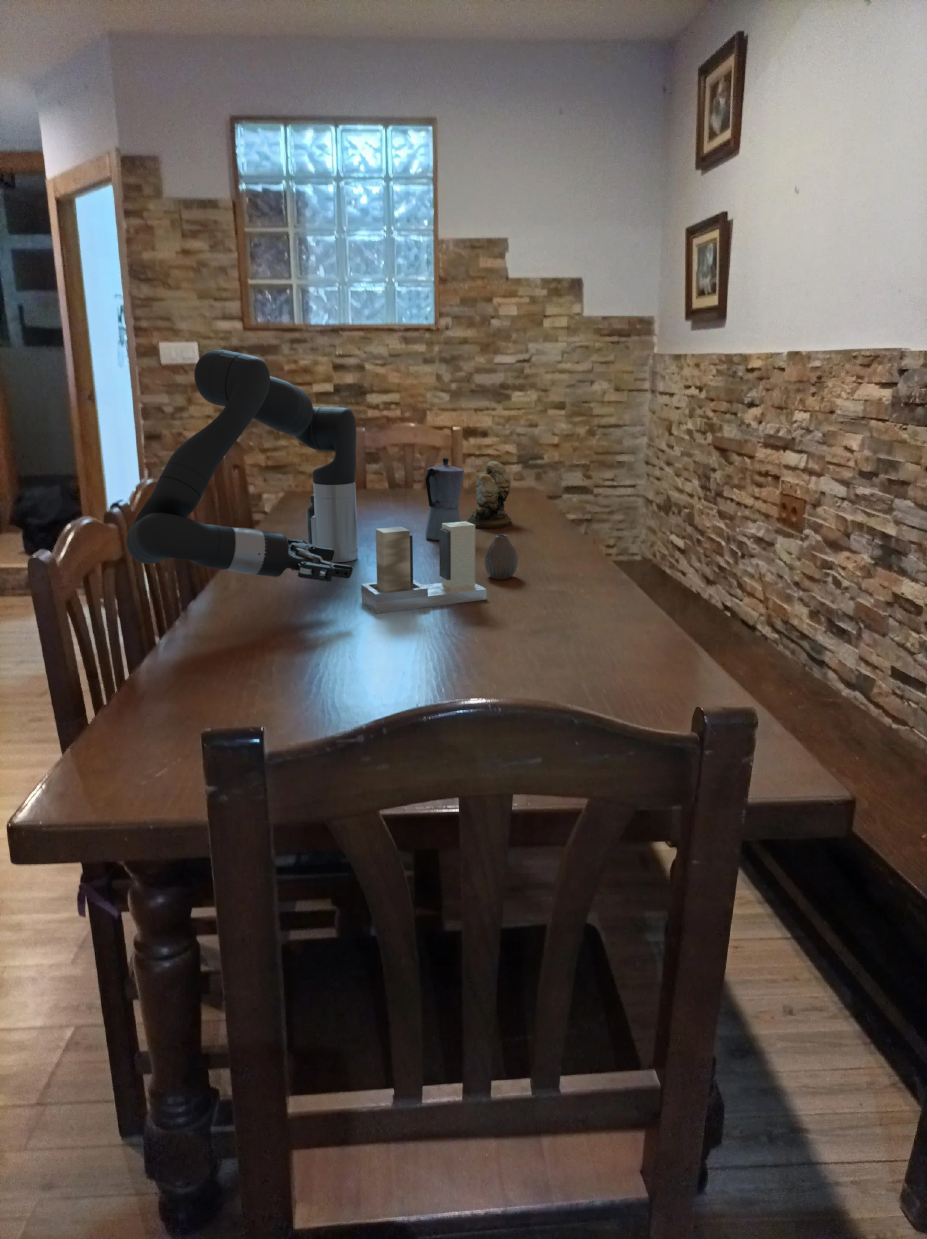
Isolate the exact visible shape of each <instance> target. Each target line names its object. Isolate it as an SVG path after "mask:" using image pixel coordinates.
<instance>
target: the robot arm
mask: <svg viewBox="0 0 927 1239" xmlns="http://www.w3.org/2000/svg"><path fill="white" fill-rule="evenodd" d="M193 377H194V383H195V386H196V389H197V391H198V393H199V394H200V396H201V397H202V398H203V399H204V400H205V401H207V402H209V403H210V404H212V405H216V406H220V407H224V408H223V409H222V410H221V412H219V414H218V416H217V417H216V418H214V419H213V420H212V421H211V422H210V423H209V424H207V425H206V426H205V427H203V428H202V429H201V430H199V431H198V432H196V433H195V434H193V435H192V436H191V437H189V438H188V439H187V440H185V441H184V442H182V444H180V445H179V446H178V447H177V448H176V449H175V451H174V452H173V453H172V454H171V456H170V457H169V459H168V461H167V463H166V465H165V467H164V468H163V471H162V472H161V474H160V476H159V478H158V479H157V481H156V484H155V486H154V488H153V491H152V493H150V494H151V495H150V496H149V498H148V499H147V500H146V502H145V503H144V505H143V506H142V508H141V509H140V511H139V512H138V513H137V516H136V517H135V518H134V520H133V521H132V524H131V525H130V527H129V529H128V531H127V534H126V537H125V538H126V539H125V544H126V549H127V551H128V553H129V554H130V556H131V557H132V559H134V560H135V561H137V562H139V563H142V564H145V565H152V564H157V563H160V562H162V561H164V560H165V559H176V560H177V559H178V560H185V561H190V562H192V563H193V564H194V565H196V566H198V567H203V568H208V569H209V568H210V569H218V570H226V571H231V572H234V573H239V574H247V575H255V576H263V577H273V578H278V577H280V576H282V575H283V573H284V572H285V570H286V569H289V570H291V571H292V572H294V573H297V577H298V578H300V579H309V580H316V581H322V582H328V583H329V582H332V579H333V578H342V579H350V578H351V576H352V573H353V569H354V568H353V567H352V566H351V565H350V564H343V563H345V562H351V561H356V560H357V559H358V556H359V554H358V552H359V548H358V523H357V522H358V521H357V498H356V496H357V494H356V493H357V492H356V490H357V489H356V468H357V423H356V422H357V421H356V417H355V414H354V412H353V411H352V409H350V408H348V407H337V406H327V407H326V406H324V407H323V406H313V402H312V401H311V398H310V397H309V395H308V394H307V393H306V392H305V391H304V390H303V389H301V388H300V387H298V386H296V385H294V384H292V383H290V382H288V381H286V380H283V379H280V378H278V377H274V376H271V374H270V370H269V367H268V365H267V364H266V361H264V360H263V359H262V358H260V357H257V356H255V355H250V354H247V353H240V352H235V351H231V350H226V349H214V350H209V351H207V352H205V353H204V354H202V355H201V356H200V358H199V359H198V360H197V362H196V365H195V367H194V375H193ZM252 420H256V421H257V422H259V423H261V424H263V425H265V426H267V427H268V428H270V429H274V430H275V431H278V432H280V433H282V434H283V433H284V434H286V435H288V436H290V437H293V438H296V439H297V440H298V441H300V442H301V443H303V444H304V445H305V446H307V447H308V448H310V449H313V450H316V451H323V452H324V451H325V452H328V451H331V452H334V458H333V460H332V461H331V462H329V463H326V464H324V465H322V466H318V467H316V468H315V469H313V471H312V487H313V494H314V510H315V516H312V517H311V529H312V544H309V543H308V540H306V539H298V538H290V537H286V535H285V534H284V533H282V532H275V531H269V530H264V529H263V530H261V529H256V528H255V529H254V528H248V527H230V526H224V525H217V524H209V523H208V524H207V523H203V522H200V521H197V520H194V519H190V518H188V517H189V516H190V515H191V514H192V512H194V511H195V509H196V508H197V507H198V505H199V503H200V501H201V499H202V497H203V496H204V494H205V491H206V489H207V487H208V485H209V483H210V481H211V479H212V477H213V476H214V474H215V473H216V470H217V468H218V467H219V465H220V463H221V462H222V460H223V459H224V458H225V456H226V455H227V454H228V452H229V451H230V450H231V448H232V447H233V446H234V444H235V442H237V441H238V439H239V438H240V436H241V435H242V434H243V433H244V432H245V430H246V428H247V427H248V425H249V424H250V423H251V422H252ZM341 563H342V564H341ZM323 570H324V571H323Z"/></svg>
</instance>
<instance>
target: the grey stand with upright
mask: <svg viewBox="0 0 927 1239" xmlns="http://www.w3.org/2000/svg"><path fill="white" fill-rule="evenodd" d="M438 541H439V542H438V543H439V545H438V546H439V577H441V582H436V583H428V584H422V583H419V582H418V581H416V580H415V579H413V584H411V589H405V590H396V591H387V592H378V591H377V581H376V582H368V583H361V584H360V589H361V591H360V592H361V593H360V594H361V595H360V596H361V603H362V604H363V605H365V606H366V607H367V608H368V609H370V610H371V611H373V612H374V613H375V614H382V612H383V613H390V612H391V613H392V612H398V611H404V610H405V611H406V610H414V609H421V608H429V607H430V608H431V607H439V606H444V605H453V604H461V603H469V602H478V601H484V600H487V598H488V594H487V592H488V590H487V588H485V587H483V586H482V585H479V584H477V582H476V528H475V525H474V524H472V523H469V522H467V520H465V521H459V522H452V523H442V529H439V540H438Z"/></svg>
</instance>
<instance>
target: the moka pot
mask: <svg viewBox="0 0 927 1239" xmlns="http://www.w3.org/2000/svg"><path fill="white" fill-rule="evenodd" d="M449 461H450V459H449V458H448V457H444V458H442V464H441V465H435V466H434V465H433V466H432V467H427V468H426V476H425V479H424V480H425V485H426V486H425V487H426V493H427V498H428V505H429V512H428V516H427V524H426V529H425V534H424V535H425V538H426V539H430V540H434V541H439V529H442V523H452V522H460V514H459V513H460V511H459V509H458V508H459V501H460V499H461V493H462V485H463V479H464V478H463V477H464V474H465V470H464V469H463V468H460V467H457V466H454V465H449Z"/></svg>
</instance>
